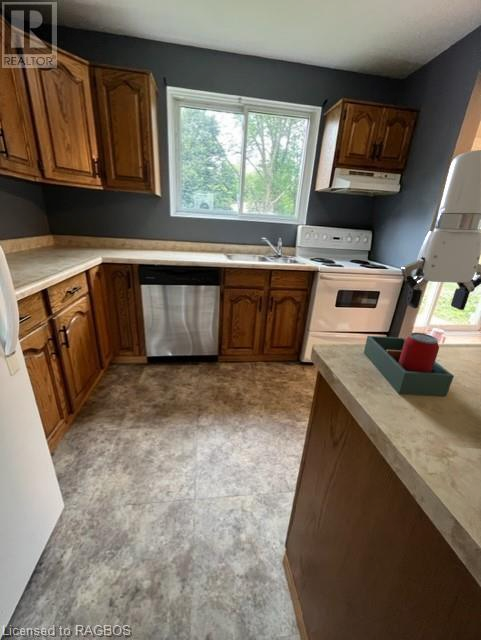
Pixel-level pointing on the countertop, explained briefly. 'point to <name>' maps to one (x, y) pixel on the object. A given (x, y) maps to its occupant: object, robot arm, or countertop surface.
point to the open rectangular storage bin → (405, 382)
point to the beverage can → (419, 353)
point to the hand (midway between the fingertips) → (434, 307)
